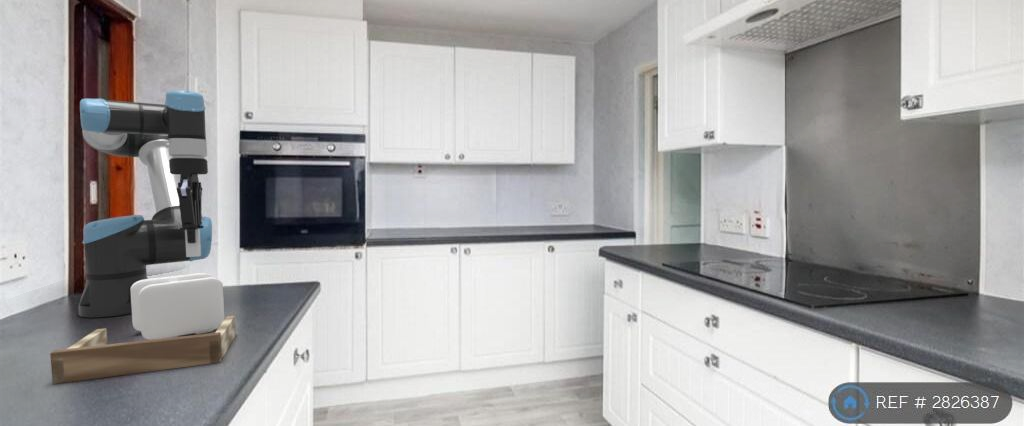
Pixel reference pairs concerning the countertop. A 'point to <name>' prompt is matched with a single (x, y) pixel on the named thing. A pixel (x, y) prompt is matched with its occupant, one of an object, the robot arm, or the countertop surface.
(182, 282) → the cable organizer
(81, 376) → the wooden tray
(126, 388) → the countertop surface
